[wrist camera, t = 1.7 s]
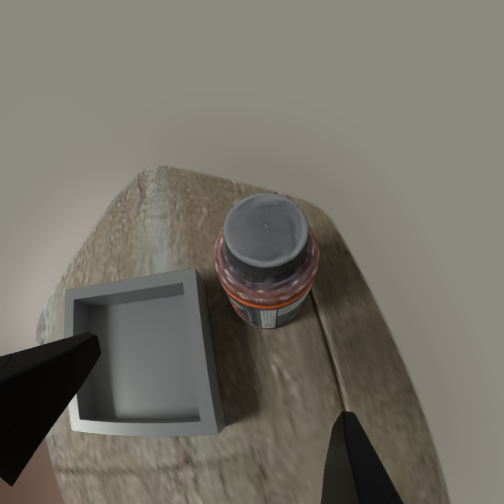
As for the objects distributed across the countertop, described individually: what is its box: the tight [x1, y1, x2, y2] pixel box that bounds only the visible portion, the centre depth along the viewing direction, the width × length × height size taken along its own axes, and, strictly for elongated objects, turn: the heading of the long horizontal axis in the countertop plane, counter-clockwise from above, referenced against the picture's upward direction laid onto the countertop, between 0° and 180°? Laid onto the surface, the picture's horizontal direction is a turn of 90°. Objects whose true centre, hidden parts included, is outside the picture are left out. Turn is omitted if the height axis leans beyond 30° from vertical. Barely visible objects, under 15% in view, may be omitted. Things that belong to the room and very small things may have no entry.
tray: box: [64, 268, 226, 437], centre depth 20 cm, size 12×12×4 cm
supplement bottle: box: [214, 193, 320, 329], centre depth 18 cm, size 6×6×11 cm
